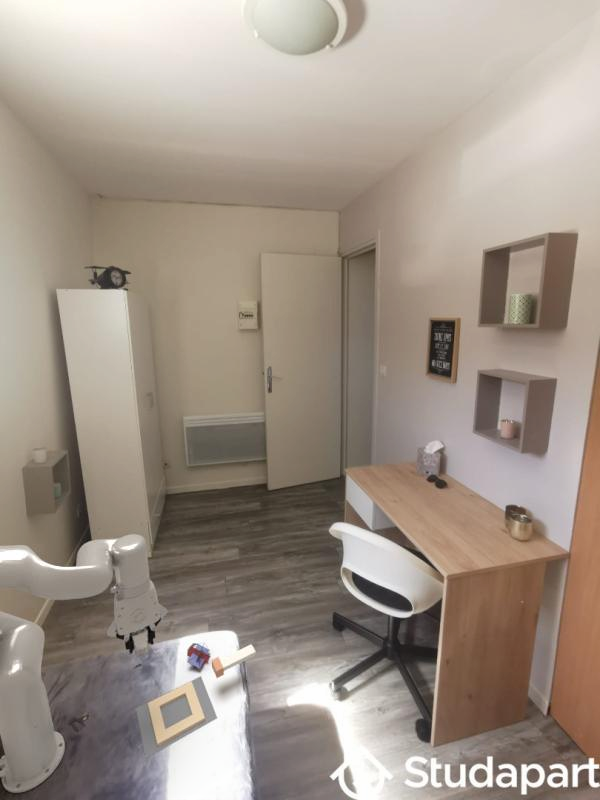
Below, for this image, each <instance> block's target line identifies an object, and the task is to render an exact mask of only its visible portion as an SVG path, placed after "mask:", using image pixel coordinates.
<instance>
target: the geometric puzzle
mask: <svg viewBox="0 0 600 800" xmlns="http://www.w3.org/2000/svg"><path fill="white" fill-rule="evenodd" d="M201 644H203V642H199V643H194V642H193V643H192V644H190V646H189V647H188V648H187V651H186V652H187V662H186V663H187V664H189V665H192V666H193V667H194V668H195V667H196V669H199V670H201V669H202V668H203V667H204V664H209V661H210V658H211V655H210V651H211V650H210V649H209V648H208V647H206V646H207V644H206V643H204V644H203V645H201ZM204 645H205V646H204ZM190 668H192V667H191V666H190Z"/></svg>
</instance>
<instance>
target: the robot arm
mask: <svg viewBox="0 0 600 800" xmlns="http://www.w3.org/2000/svg"><path fill="white" fill-rule="evenodd" d="M114 575H115V584H114V585H113V586H111V587H110V588H109V586H110V585H111V583H112V581H113V578H114ZM108 588H109V589H110V594H114V599H113V600H114V602H113V610H114V611H113V612H114V619H113V620H112V622H111V623H110V625H109V627H108V629H107V631H106V633H107V637H112V638H117V639H120V640H122V641H123V642H124V646H125V650H126V651H128V652H129V655H132V654H133V653H132V652H133V649H132V641H131V637H130V633H131V632H134V631H136V630H139V629H141V628H144V627H146V626H148V628H149V638H150V646H153V645H154V639H156V631H155V630H156V629H157V626H158V625H159V624H160V622H161V621H162V619H163V618H164V617H165V616H166V615H167V614H168V610H167V608H166V607H165V606H163V605H162V604H160V603H159V600H158V599H159V598H158V595H157V590H156V586H155V583H153V581H152V580H151V578H150V567H149V559H148V548H147V542H146V539H145V537H144V536H143V535H140V534H135V533H131V534H127V535H124V536H121V537H118V538H117V537H116V538H102V539H101V538H100V539H94V540H90V541H88V542H85V543H83V545H81V547H80V548H79V549H78V551H77V554H76V564H75V566H59V565H53V564H51V563H48V562H46V561H44V560H43V559H41V558H40V557H39V556H38V555H37V554H36V552H34V551H33V550H32V548H30V546H28V545H25V544H17V545H15V544H14V545H12V544H11V545H0V590H5V589H19V590H21V591H24V592H26V593H28V594H31V595H32V596H33V595H34V596H36V597H38V598H44V599H47V600H51V601H52V600H53V601H65V600H76V599H77V600H78V599H85V598H90V597H94V596H97V595H100V594H101V593H103V592H105V591H106V590H107V589H108ZM45 641H46V639H45V632H44V630H43V627H41V626H40V625H39V624H37V623H35V622H33V621H30V620H28V619H25V618H21V617H19V616H16V615H13V614H11V613H8V612H4V611H1V610H0V739H1V743H2V747H3V751H4V755H2V756H1V758H0V769H1V770H0V778H1V782H2V786H3V787H4V789H5V790H6V791H8V792H10V793H13V794H16V793H17V794H20V793H23V792H24V793H25V792H27V791H30V790H32V789H34V788H37V786H39V785H40V784H42V783H43V782H44V781H46V779H48V778H49V777H50V776H51V775H52V774H53V773H54V771H55V770H56V769H57V768H58V767H59V765H60V763H61V761H62V760H63V756H64V755H65V749H66V747H65V746H66V744H65V740H64V737H63V735H62V734H61V733H60V732H58V731H55V729H54V723H53V719H52V713H51V709H50V708H51V707H50V704H49V698H48V694H47V689H46V686H45V684H44V681H43V680H42V661H43V656H44V655H43V654H44V647H45Z"/></svg>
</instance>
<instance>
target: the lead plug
mask: <svg viewBox="0 0 600 800" xmlns="http://www.w3.org/2000/svg"><path fill="white" fill-rule="evenodd" d="M130 637H131V641H132V649H133V652H132V654H133V656H135V657H142V656H144V655H146V654H147V653H149V651H150V650H151V644H150V638H149V628H148V626H146V627H144V628H141V629H139V630H136V631H134V632H131V633H130Z"/></svg>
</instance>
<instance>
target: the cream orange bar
mask: <svg viewBox="0 0 600 800" xmlns="http://www.w3.org/2000/svg"><path fill="white" fill-rule="evenodd" d="M256 655H257V652H256V649H255V648H254V646H253V645H252V644H249V645H246V646H245V647H243V648H241V649H239V650H238V649H237V650H236V651H234V652H232V653H230V654H229V655H226V656H225V657H222V658H219V656H216V657H215V658H213V659H211V668H212V670H213V673H214V674H215V677H216V679H218V678H221V677H223V676H224V675H225V674H224V672H225V671H227V670H229V669H231V668H234V667H236V666H237V665H239V664H241V663H243V662H245V661H246V660H249V659H251V658H252V657H255V656H256Z"/></svg>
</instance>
